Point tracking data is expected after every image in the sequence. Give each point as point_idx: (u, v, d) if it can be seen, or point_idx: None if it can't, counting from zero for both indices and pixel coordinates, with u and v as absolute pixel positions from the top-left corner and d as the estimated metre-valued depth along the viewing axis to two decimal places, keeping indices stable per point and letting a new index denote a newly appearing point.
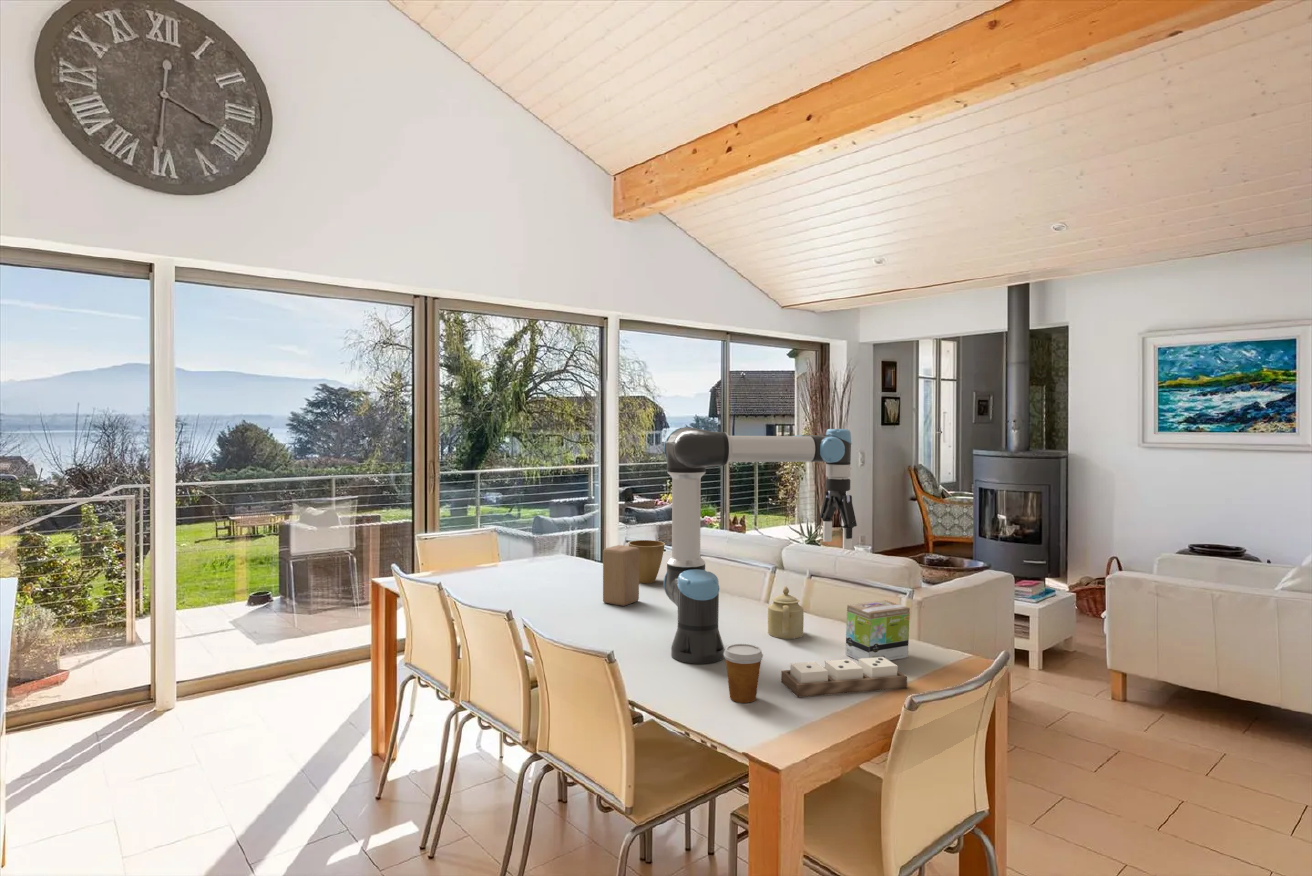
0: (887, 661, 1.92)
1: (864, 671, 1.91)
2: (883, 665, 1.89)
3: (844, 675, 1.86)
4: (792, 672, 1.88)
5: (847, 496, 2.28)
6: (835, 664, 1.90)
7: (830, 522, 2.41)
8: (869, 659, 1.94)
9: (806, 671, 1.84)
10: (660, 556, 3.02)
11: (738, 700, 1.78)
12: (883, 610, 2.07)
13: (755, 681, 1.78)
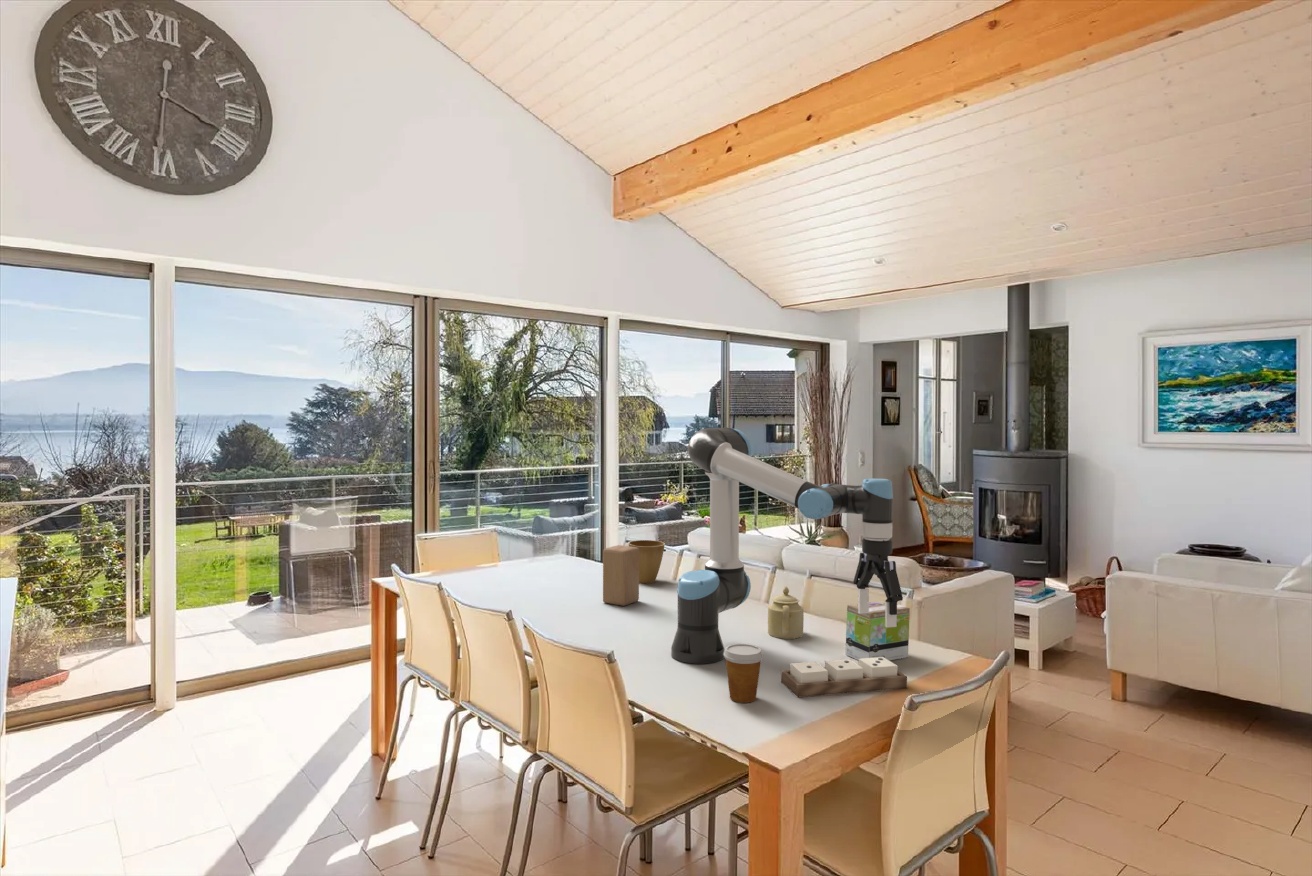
0: (887, 661, 1.92)
1: (864, 671, 1.91)
2: (883, 665, 1.89)
3: (844, 675, 1.86)
4: (792, 672, 1.88)
5: (890, 562, 1.87)
6: (835, 664, 1.90)
7: (866, 590, 2.00)
8: (869, 659, 1.94)
9: (806, 671, 1.84)
10: (660, 556, 3.02)
11: (738, 700, 1.78)
12: (883, 610, 2.07)
13: (755, 681, 1.78)
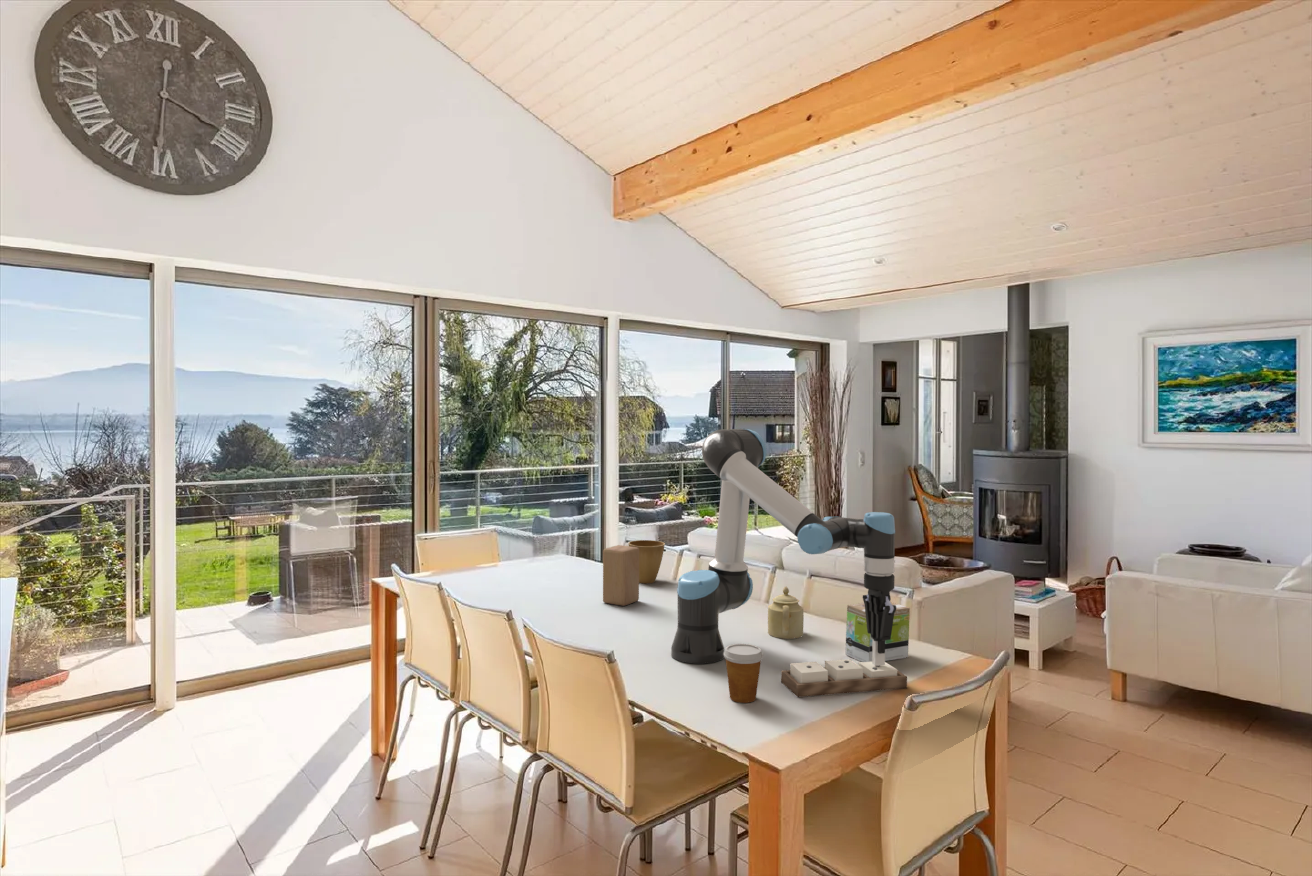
0: (887, 665, 1.92)
1: None
2: (883, 669, 1.89)
3: (844, 675, 1.86)
4: (792, 672, 1.88)
5: (891, 608, 1.85)
6: (835, 664, 1.90)
7: None
8: (869, 663, 1.94)
9: (806, 671, 1.84)
10: (660, 556, 3.02)
11: (738, 700, 1.78)
12: None
13: (755, 681, 1.78)
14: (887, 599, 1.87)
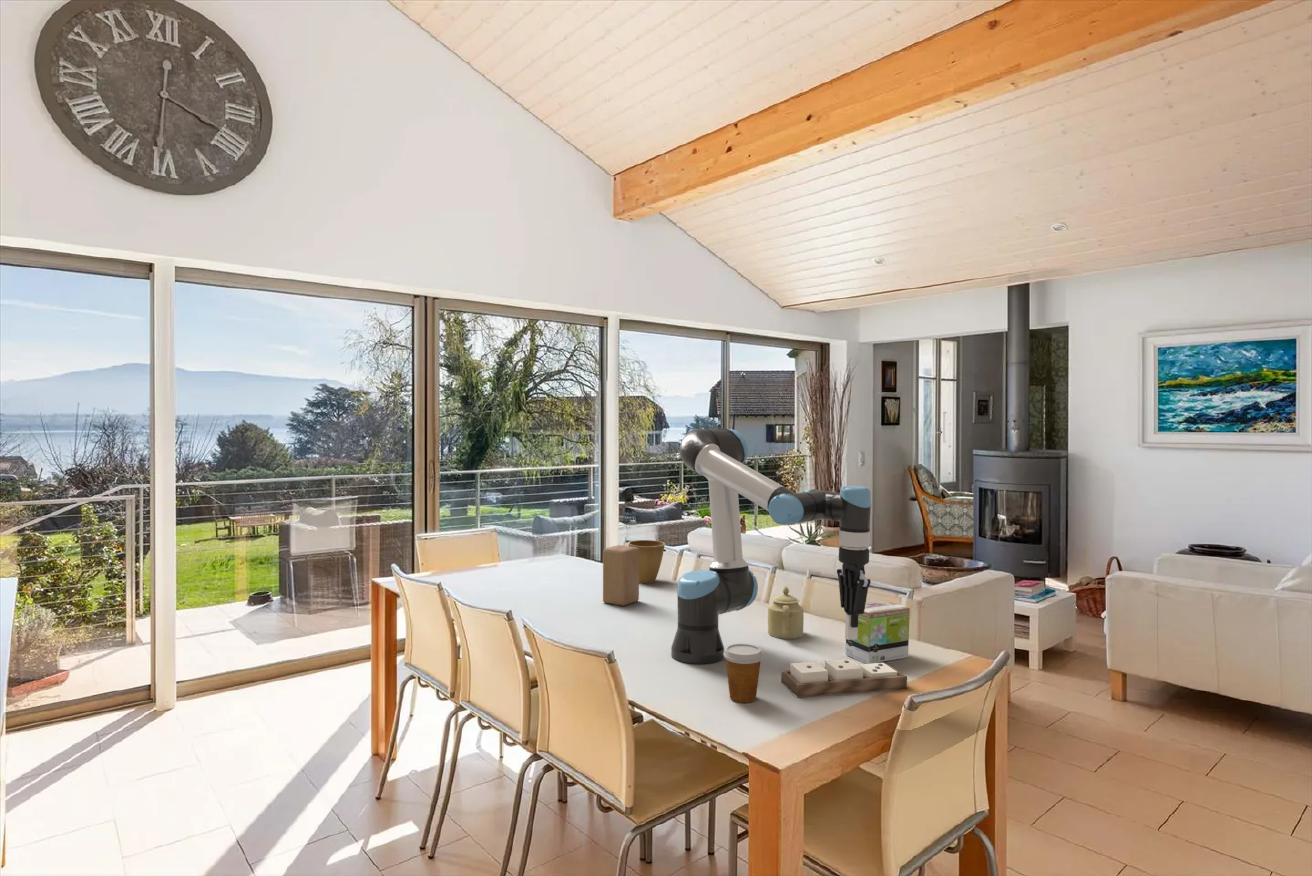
0: (887, 667, 1.92)
1: None
2: (883, 671, 1.89)
3: (844, 675, 1.86)
4: (792, 672, 1.88)
5: (865, 582, 1.84)
6: (835, 664, 1.90)
7: None
8: (868, 665, 1.94)
9: (806, 671, 1.84)
10: (660, 556, 3.02)
11: (738, 700, 1.78)
12: (883, 610, 2.07)
13: (755, 681, 1.78)
14: (861, 573, 1.86)
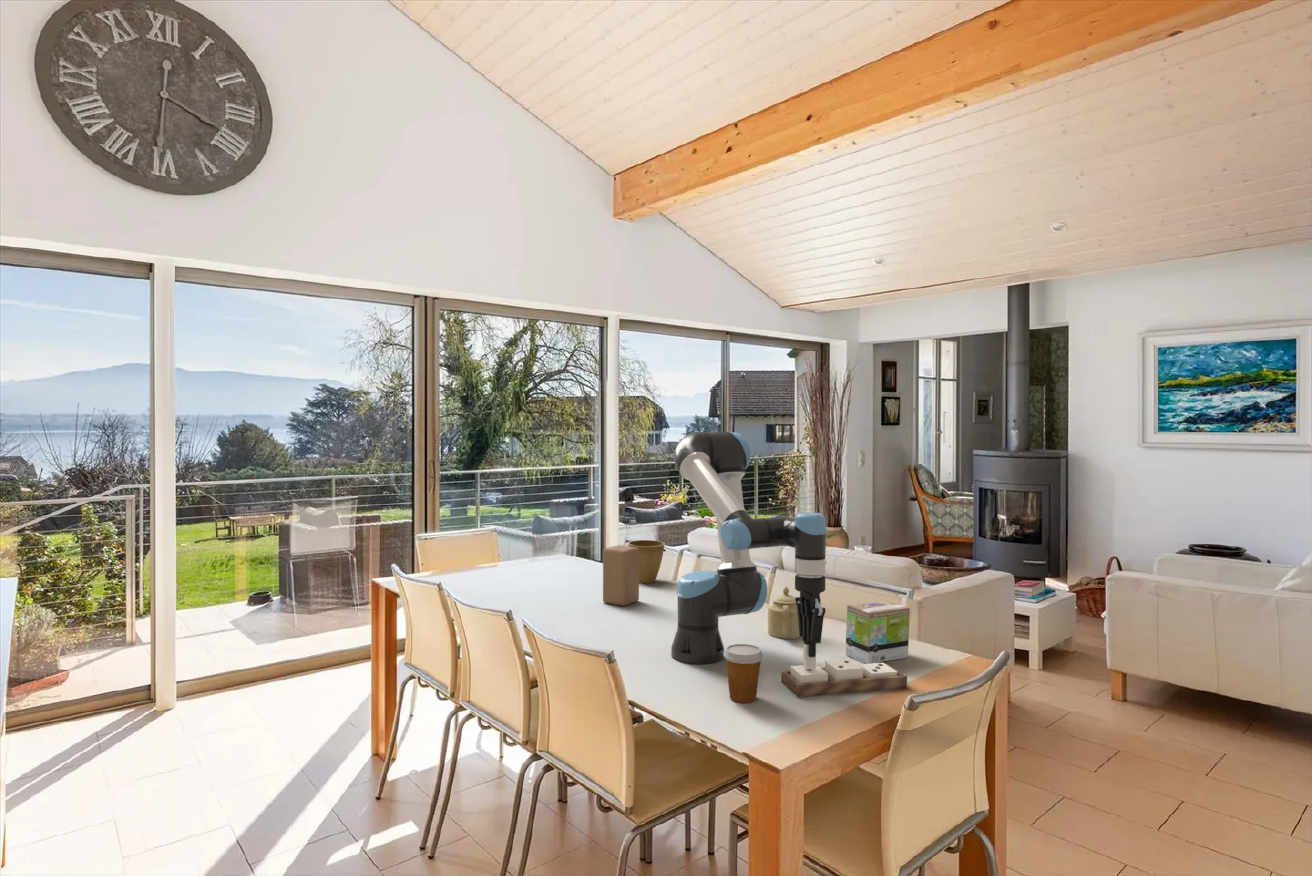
0: (887, 667, 1.92)
1: None
2: (883, 671, 1.89)
3: (844, 675, 1.86)
4: (792, 674, 1.88)
5: (820, 611, 1.81)
6: (835, 664, 1.90)
7: None
8: (868, 665, 1.94)
9: (806, 674, 1.84)
10: (660, 556, 3.02)
11: (738, 700, 1.78)
12: (883, 610, 2.07)
13: (755, 681, 1.78)
14: (817, 601, 1.83)
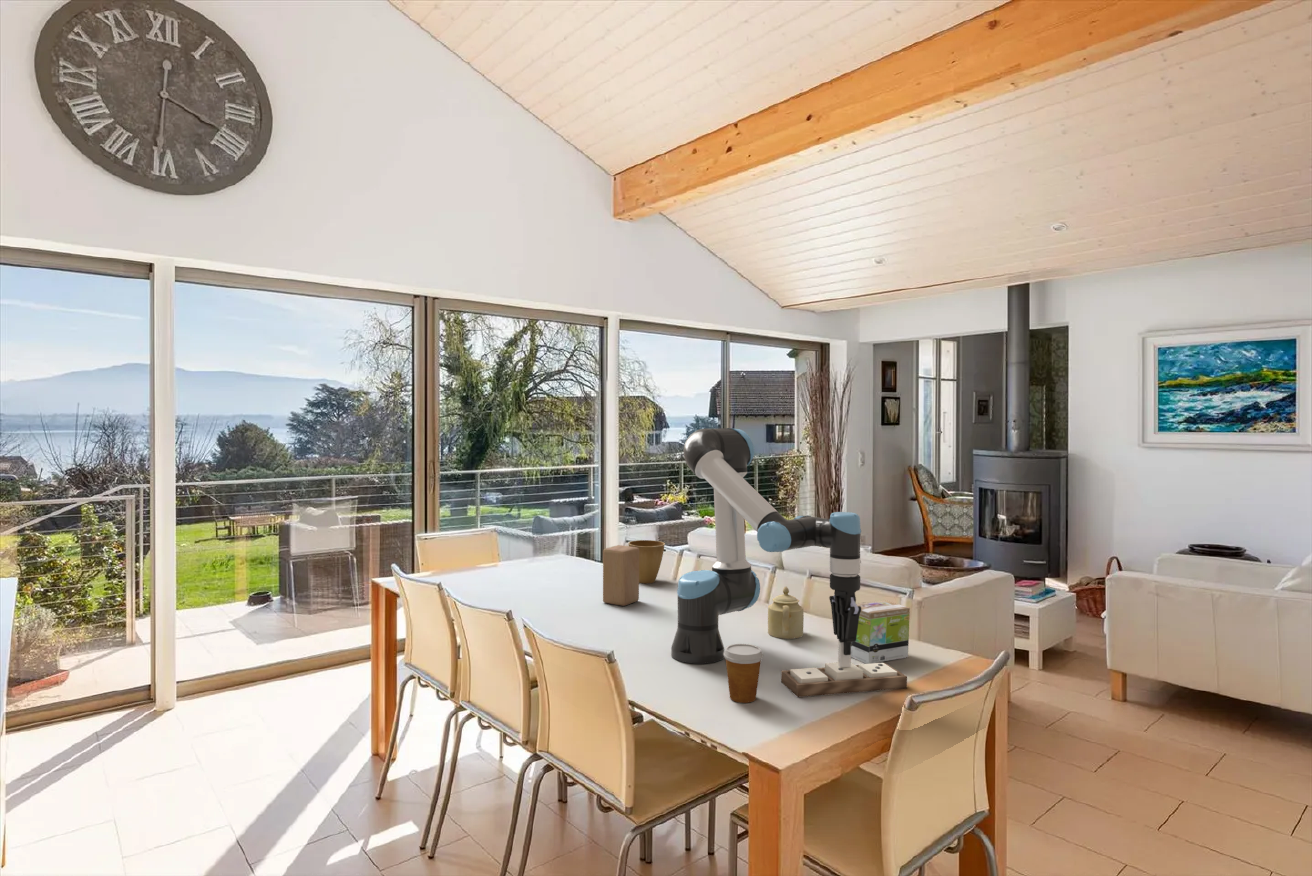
0: (887, 667, 1.92)
1: None
2: (883, 671, 1.89)
3: (844, 677, 1.86)
4: None
5: (856, 609, 1.83)
6: (835, 666, 1.90)
7: None
8: (868, 665, 1.94)
9: (806, 677, 1.84)
10: (660, 556, 3.02)
11: (738, 700, 1.78)
12: (883, 610, 2.07)
13: (755, 681, 1.78)
14: (852, 600, 1.85)
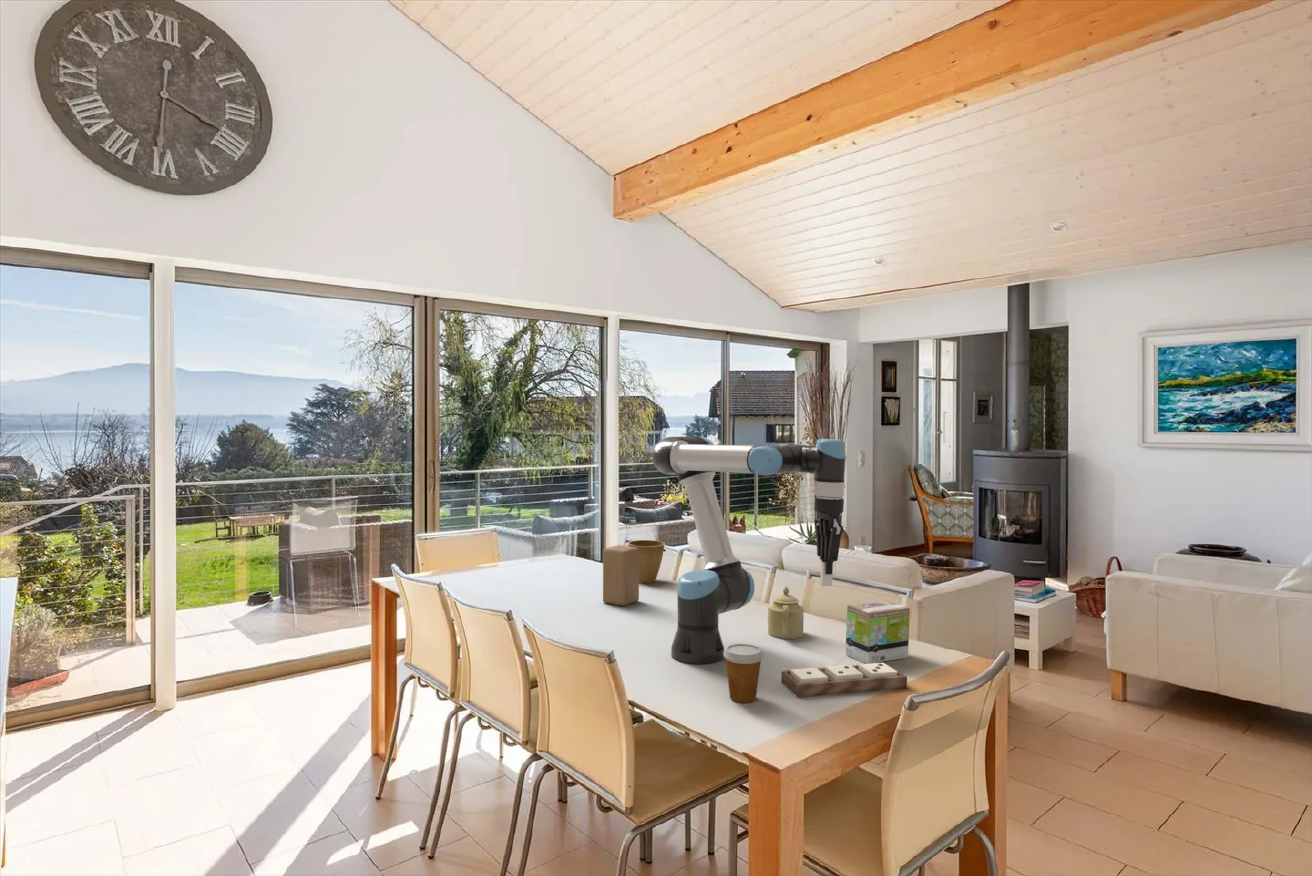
0: (887, 667, 1.92)
1: None
2: (883, 671, 1.89)
3: None
4: None
5: (838, 530, 1.91)
6: (835, 669, 1.90)
7: None
8: (868, 665, 1.94)
9: (806, 677, 1.84)
10: (660, 556, 3.02)
11: (738, 700, 1.78)
12: (883, 610, 2.07)
13: (755, 681, 1.78)
14: (835, 521, 1.93)
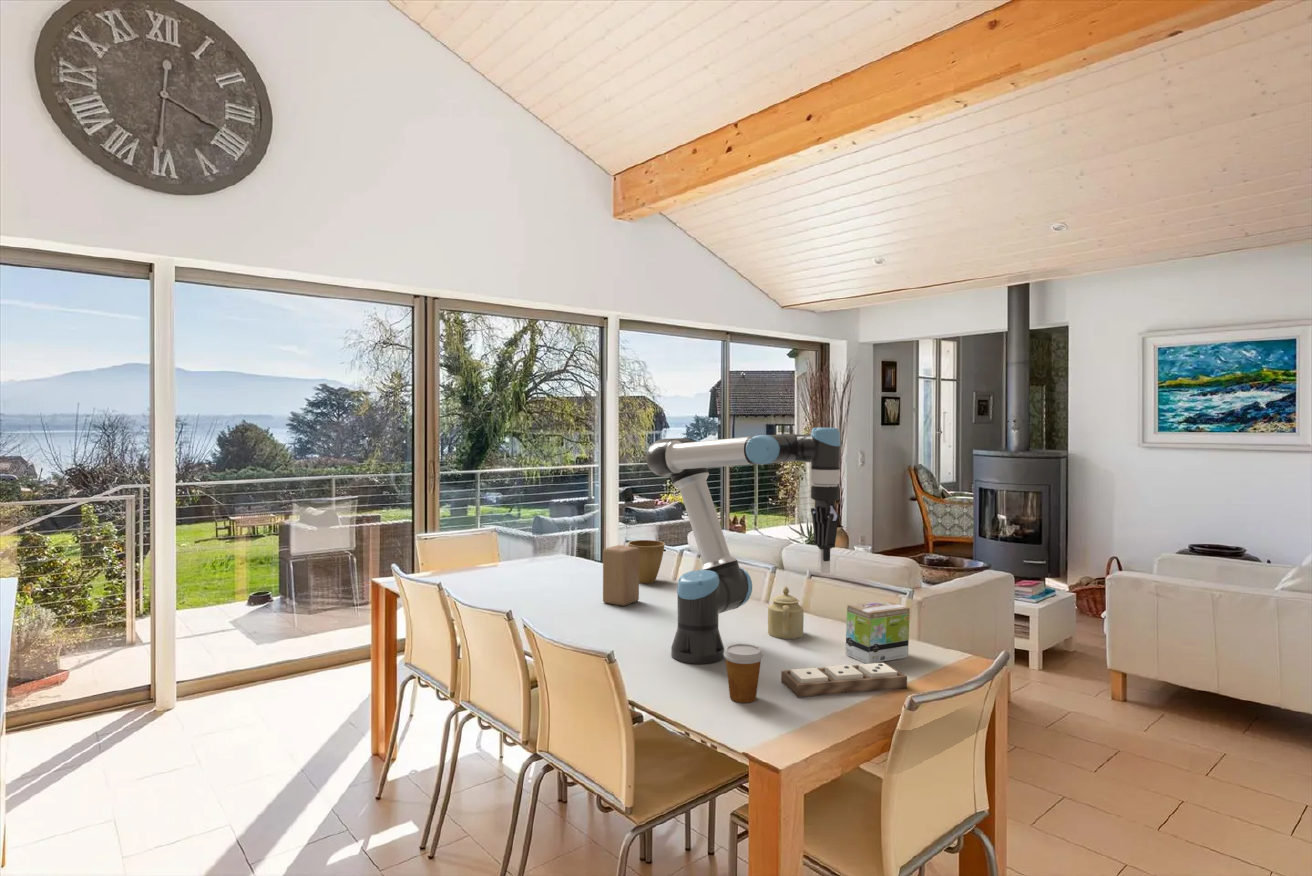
0: (887, 667, 1.92)
1: None
2: (883, 671, 1.89)
3: None
4: None
5: (834, 516, 1.94)
6: (835, 669, 1.90)
7: None
8: (868, 665, 1.94)
9: (806, 677, 1.84)
10: (660, 556, 3.02)
11: (738, 700, 1.78)
12: (883, 610, 2.07)
13: (755, 681, 1.78)
14: (831, 508, 1.96)
